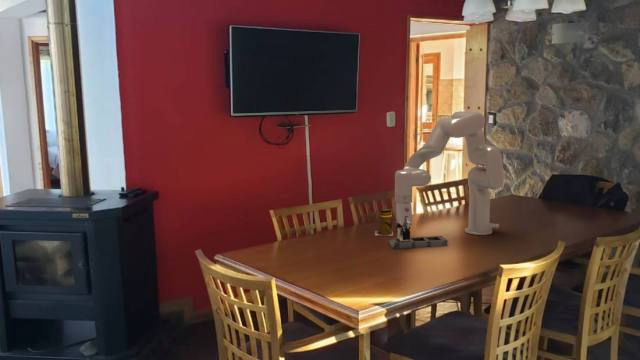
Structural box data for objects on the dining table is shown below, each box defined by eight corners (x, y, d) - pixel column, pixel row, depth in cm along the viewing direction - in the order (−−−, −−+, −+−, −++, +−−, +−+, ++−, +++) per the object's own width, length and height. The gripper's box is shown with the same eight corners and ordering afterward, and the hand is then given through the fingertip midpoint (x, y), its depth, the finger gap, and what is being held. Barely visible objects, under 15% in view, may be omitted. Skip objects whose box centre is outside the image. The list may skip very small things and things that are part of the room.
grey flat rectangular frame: (441, 241, 257) (441, 235, 256) (447, 246, 249) (447, 240, 248) (389, 243, 253) (389, 238, 253) (394, 248, 245) (394, 243, 245)
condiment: (393, 235, 267) (393, 211, 265) (374, 235, 268) (375, 210, 266) (392, 232, 274) (392, 207, 272) (374, 231, 275) (375, 207, 273)
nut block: (406, 244, 252) (406, 226, 251) (408, 246, 248) (408, 228, 247) (397, 244, 252) (397, 226, 250) (399, 247, 248) (399, 228, 247)
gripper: (417, 202, 239) (417, 241, 241) (406, 194, 256) (405, 231, 258) (400, 203, 238) (400, 242, 240) (389, 195, 255) (389, 232, 257)
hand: (403, 236), depth 249 cm, fingers open, 9 cm apart
